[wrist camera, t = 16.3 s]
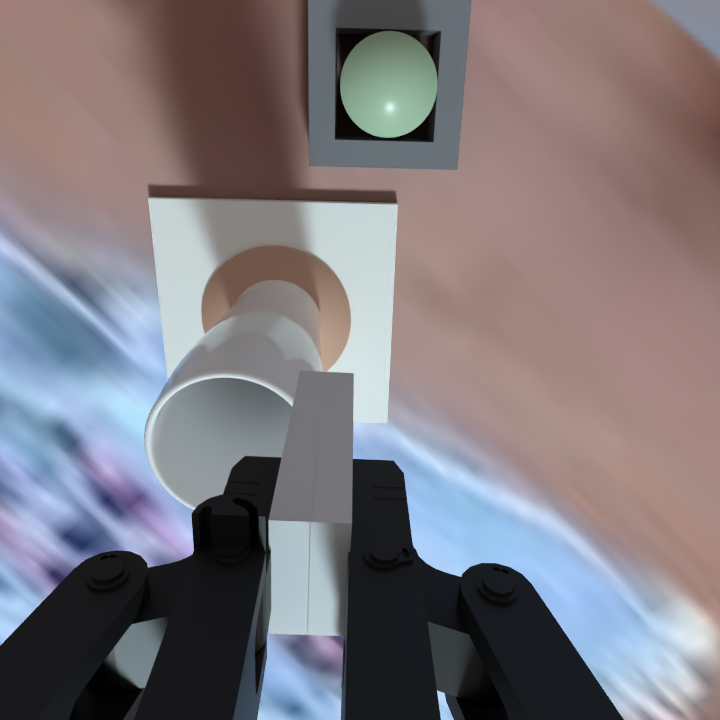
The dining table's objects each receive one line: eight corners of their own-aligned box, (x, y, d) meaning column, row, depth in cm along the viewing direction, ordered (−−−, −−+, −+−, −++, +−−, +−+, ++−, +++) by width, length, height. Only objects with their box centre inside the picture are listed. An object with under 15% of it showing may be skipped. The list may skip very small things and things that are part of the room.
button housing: (313, 160, 34) (309, 166, 31) (312, 4, 31) (308, -5, 28) (449, 164, 34) (457, 169, 32) (461, 8, 31) (471, 0, 29)
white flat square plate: (174, 414, 40) (171, 420, 40) (151, 196, 35) (147, 198, 34) (386, 418, 41) (387, 424, 40) (397, 202, 35) (398, 205, 34)
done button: (341, 132, 32) (339, 136, 29) (342, 37, 30) (340, 29, 27) (425, 134, 32) (434, 139, 29) (431, 40, 31) (441, 32, 27)
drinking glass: (222, 367, 38) (145, 518, 24) (220, 260, 36) (134, 362, 22) (330, 374, 38) (316, 528, 25) (337, 268, 36) (324, 375, 22)
